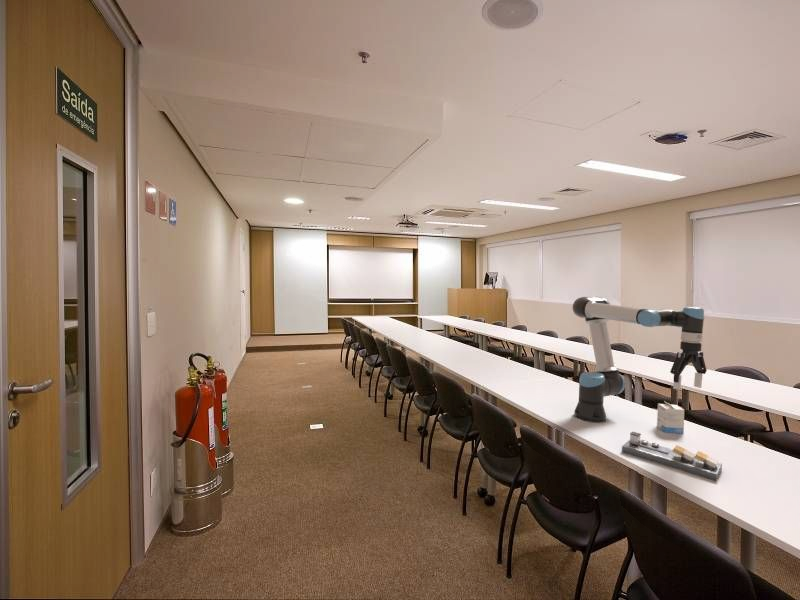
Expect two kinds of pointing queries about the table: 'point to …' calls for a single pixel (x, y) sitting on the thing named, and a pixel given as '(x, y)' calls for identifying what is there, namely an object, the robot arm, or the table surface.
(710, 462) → the rocker
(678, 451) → the rocker
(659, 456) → the console
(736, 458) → the table surface
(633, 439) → the slider
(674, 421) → the ink box
